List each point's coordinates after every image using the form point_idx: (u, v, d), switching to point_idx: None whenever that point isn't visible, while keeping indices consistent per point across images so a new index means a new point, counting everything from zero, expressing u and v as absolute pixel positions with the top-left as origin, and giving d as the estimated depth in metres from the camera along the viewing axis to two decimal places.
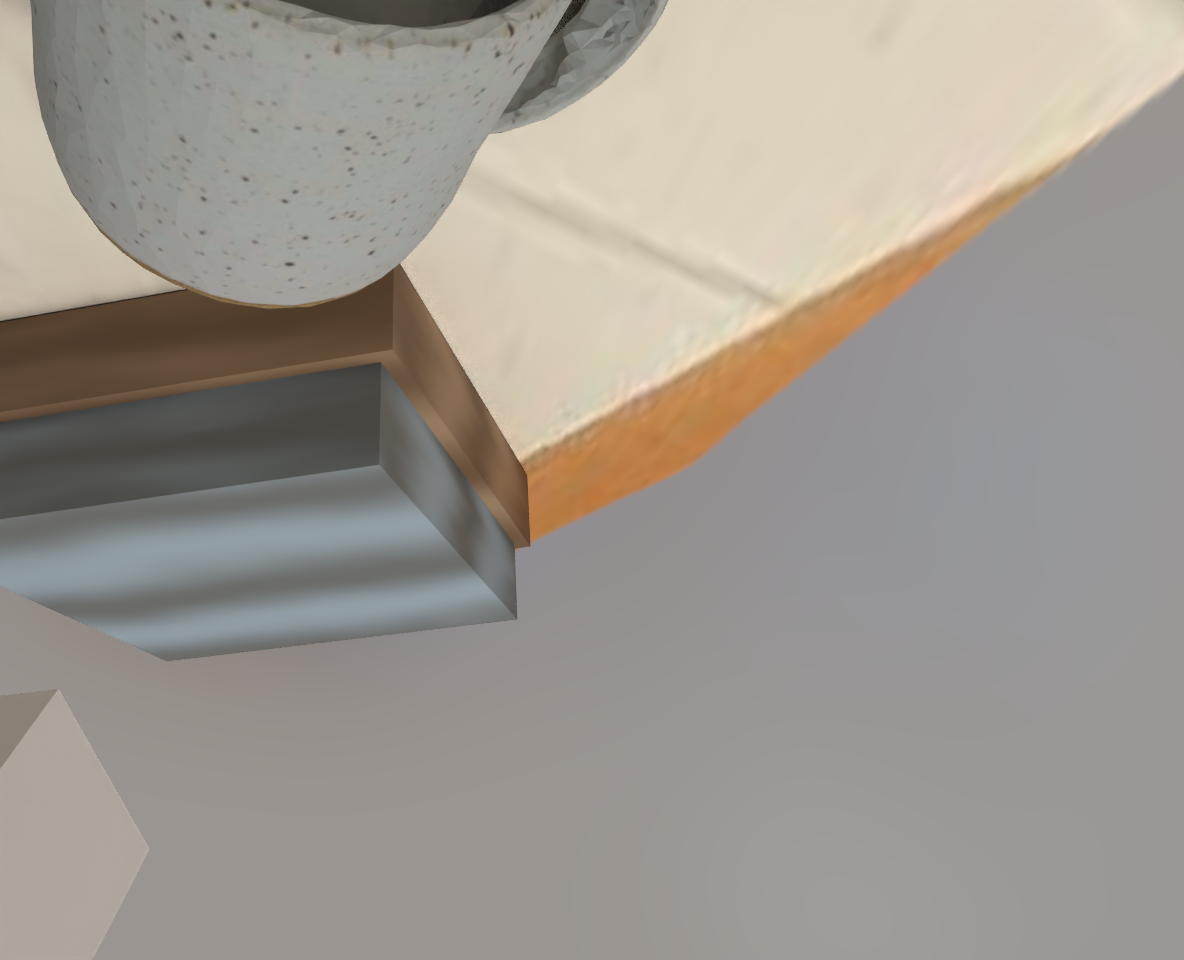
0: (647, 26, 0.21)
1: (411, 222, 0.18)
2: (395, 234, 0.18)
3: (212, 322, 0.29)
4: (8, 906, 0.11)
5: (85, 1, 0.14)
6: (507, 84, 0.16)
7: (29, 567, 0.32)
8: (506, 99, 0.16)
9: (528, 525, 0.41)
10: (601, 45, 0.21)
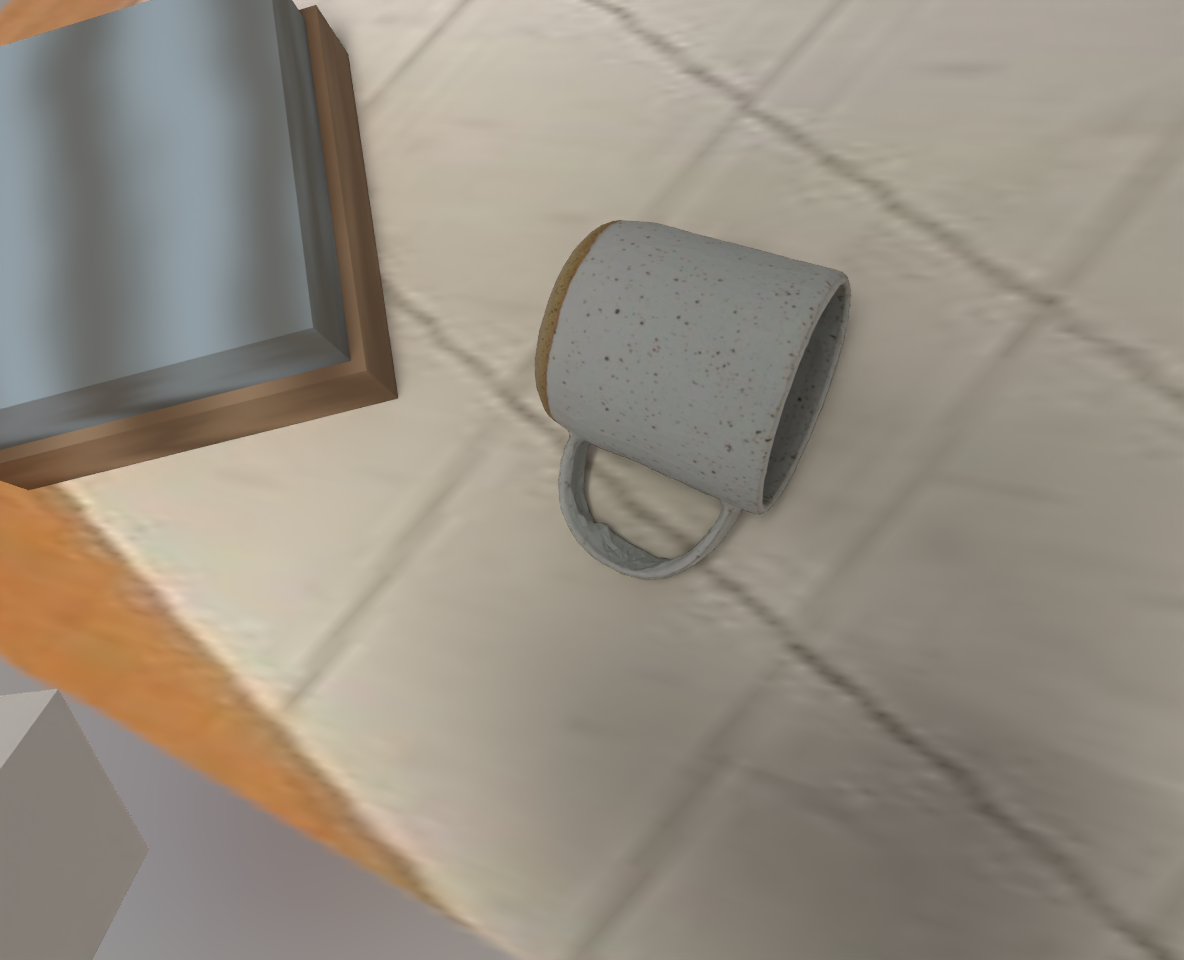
0: (620, 566, 0.35)
1: (619, 385, 0.31)
2: (613, 375, 0.31)
3: (367, 257, 0.39)
4: (8, 906, 0.11)
5: (780, 264, 0.31)
6: (718, 442, 0.30)
7: (183, 34, 0.37)
8: (695, 445, 0.31)
9: None
10: (602, 542, 0.35)
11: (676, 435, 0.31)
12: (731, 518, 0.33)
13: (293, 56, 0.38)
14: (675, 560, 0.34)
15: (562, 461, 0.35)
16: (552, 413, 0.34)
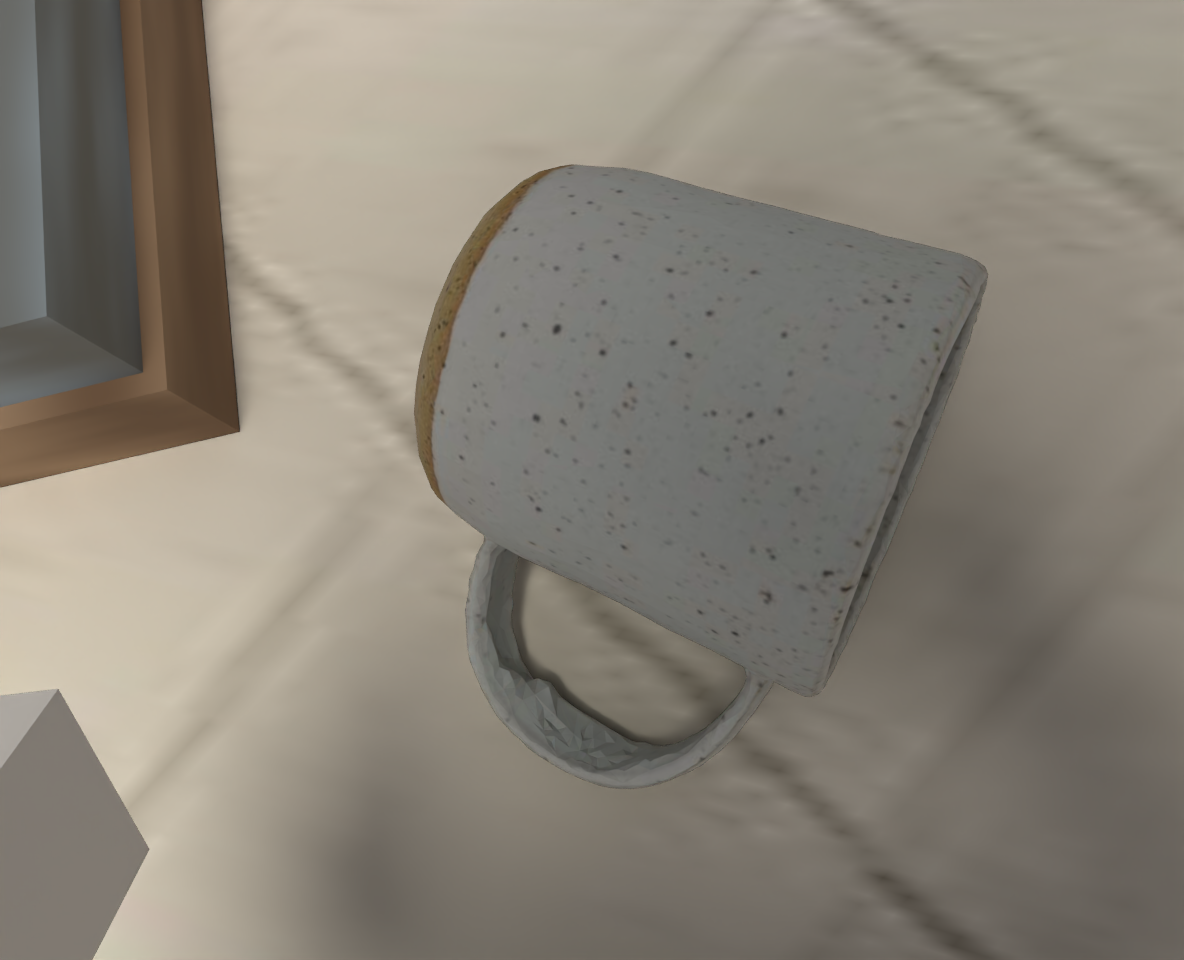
0: (567, 763, 0.20)
1: (559, 468, 0.16)
2: (550, 449, 0.16)
3: (195, 207, 0.25)
4: (8, 906, 0.11)
5: (868, 243, 0.16)
6: (746, 585, 0.16)
7: None
8: (702, 586, 0.16)
9: None
10: (539, 716, 0.21)
11: (666, 565, 0.16)
12: (762, 695, 0.19)
13: None
14: (662, 760, 0.20)
15: (472, 580, 0.21)
16: (448, 505, 0.19)
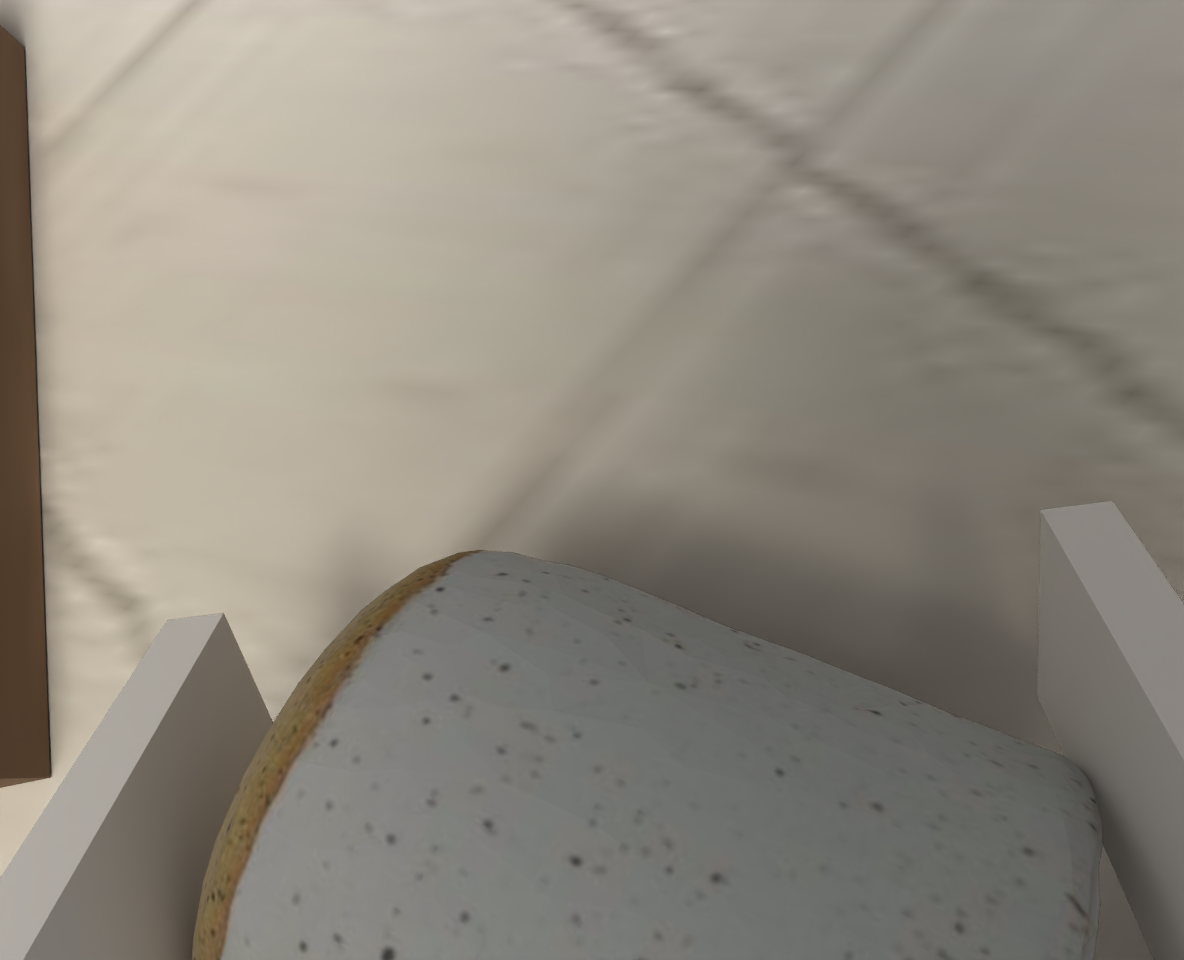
0: None
1: None
2: None
3: None
4: (193, 809, 0.12)
5: (907, 794, 0.10)
6: None
7: None
8: None
9: None
10: None
11: None
12: None
13: None
14: None
15: None
16: None
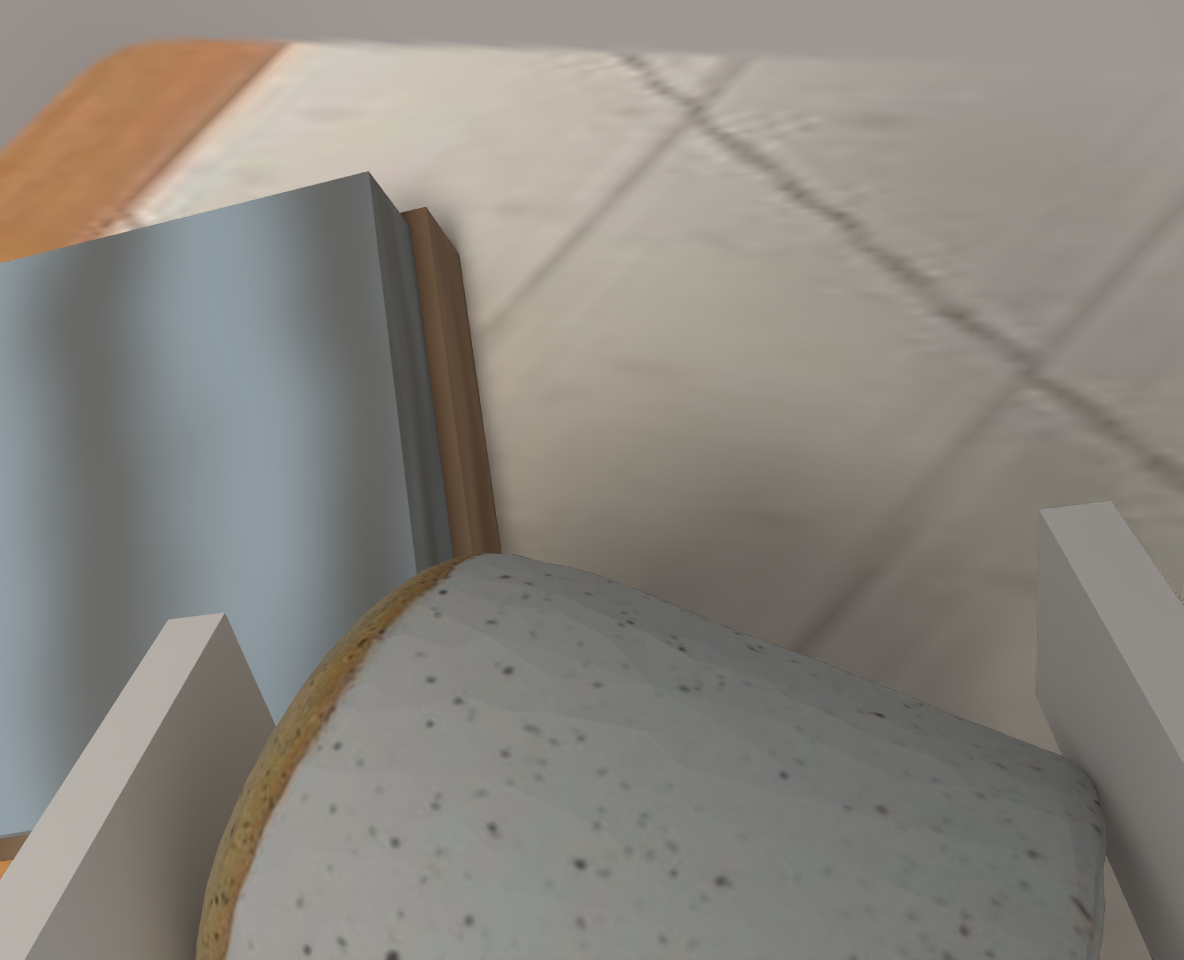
0: None
1: None
2: None
3: None
4: (195, 808, 0.12)
5: (911, 797, 0.10)
6: None
7: (246, 270, 0.26)
8: None
9: None
10: None
11: None
12: None
13: (400, 300, 0.27)
14: None
15: None
16: None
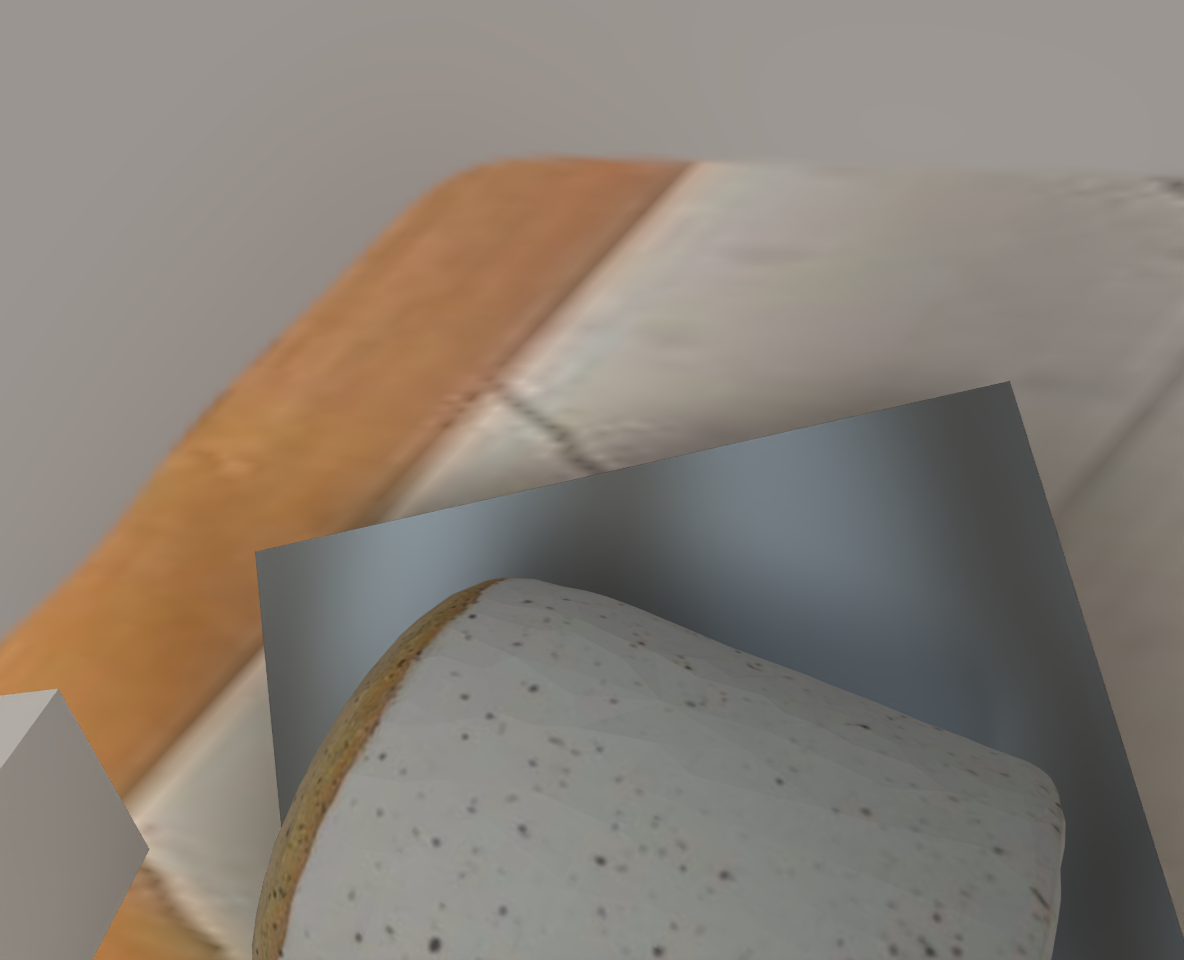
0: None
1: None
2: None
3: None
4: (8, 906, 0.11)
5: (892, 800, 0.11)
6: None
7: (842, 523, 0.18)
8: None
9: None
10: None
11: None
12: None
13: None
14: None
15: None
16: None
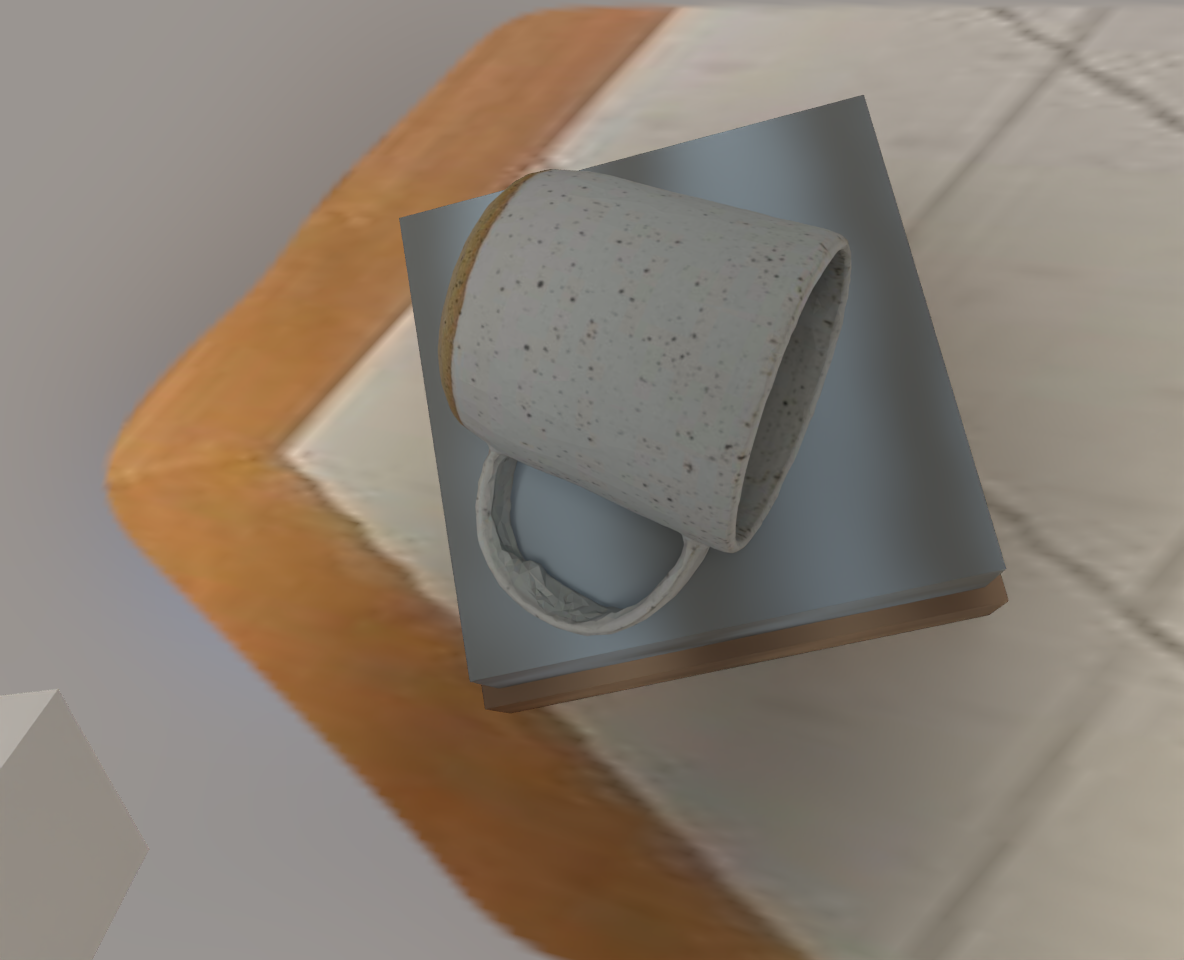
0: (553, 619, 0.27)
1: (543, 382, 0.23)
2: (536, 369, 0.23)
3: None
4: (8, 906, 0.11)
5: (759, 221, 0.23)
6: (674, 460, 0.22)
7: (762, 180, 0.31)
8: (644, 464, 0.23)
9: (496, 709, 0.32)
10: (532, 586, 0.28)
11: (619, 450, 0.23)
12: (696, 558, 0.26)
13: None
14: (624, 611, 0.26)
15: (480, 482, 0.27)
16: (462, 420, 0.26)
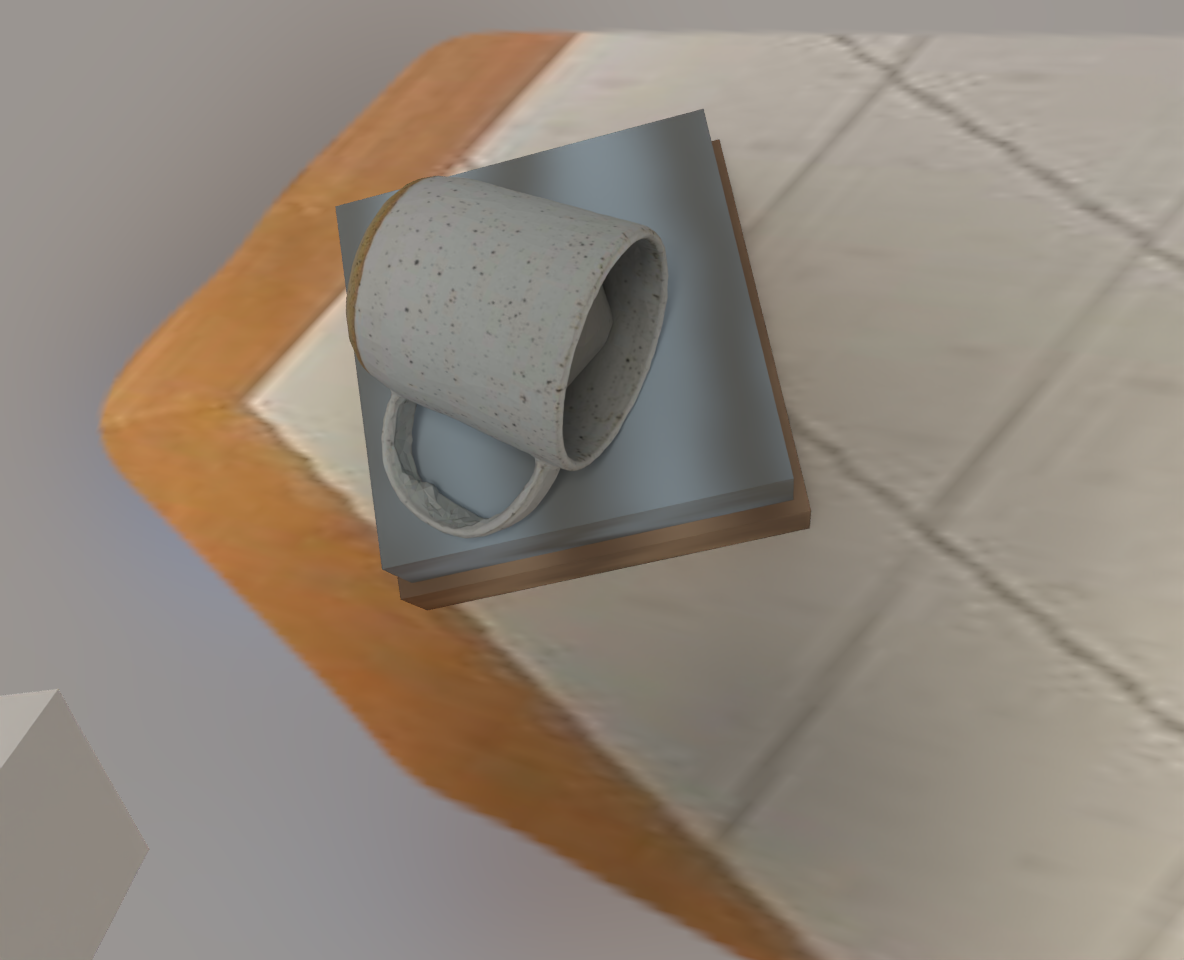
0: (440, 525, 0.35)
1: (419, 337, 0.31)
2: (414, 326, 0.31)
3: None
4: (8, 906, 0.11)
5: (582, 216, 0.31)
6: (513, 393, 0.30)
7: (622, 176, 0.38)
8: (493, 397, 0.31)
9: (411, 601, 0.40)
10: (425, 501, 0.35)
11: (475, 387, 0.31)
12: (545, 475, 0.33)
13: None
14: (492, 518, 0.34)
15: (384, 419, 0.35)
16: (367, 368, 0.33)
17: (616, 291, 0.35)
